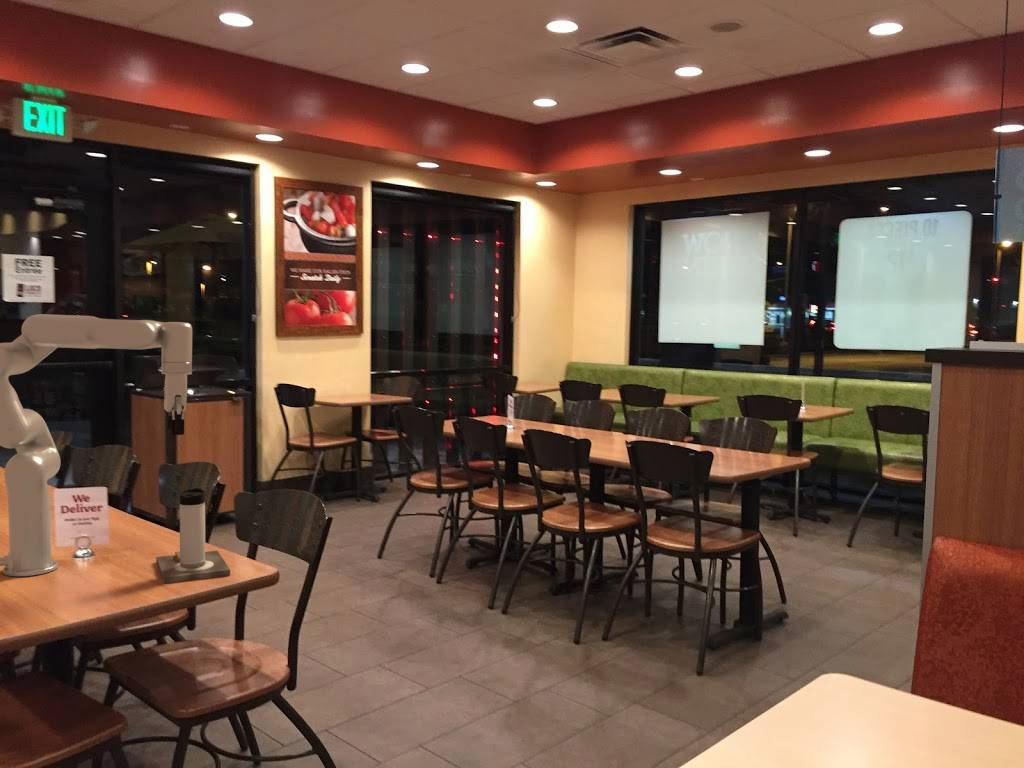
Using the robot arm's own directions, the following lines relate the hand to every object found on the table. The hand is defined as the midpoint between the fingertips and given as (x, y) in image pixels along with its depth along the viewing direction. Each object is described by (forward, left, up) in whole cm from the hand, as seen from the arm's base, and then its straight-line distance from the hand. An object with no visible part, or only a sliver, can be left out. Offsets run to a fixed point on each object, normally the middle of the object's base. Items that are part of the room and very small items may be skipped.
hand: (175, 432), depth 225 cm
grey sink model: (+3, -5, -36) cm, 37 cm away
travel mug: (+3, -8, -35) cm, 36 cm away
